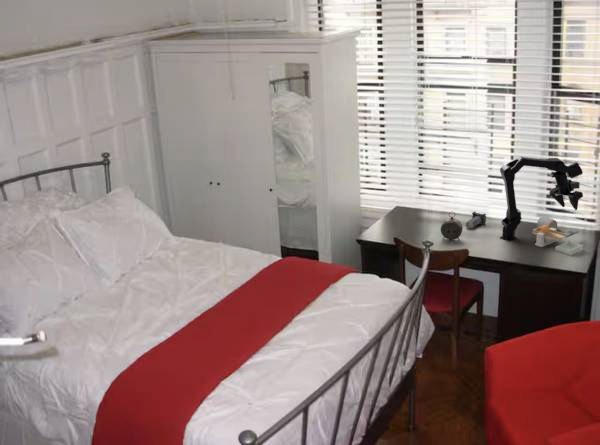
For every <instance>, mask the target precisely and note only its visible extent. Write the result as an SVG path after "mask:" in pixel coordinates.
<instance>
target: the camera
mask: <svg viewBox="0 0 600 445" xmlns="http://www.w3.org/2000/svg"><path fill="white" fill-rule="evenodd" d="M471 214H472V216H471V219H469V220H468V221H466V223H465V227H466V229H468V230H472V229H473V228H475V227H477V226H478V225H483V226H485V225H486V222H487V214H486V213H479V212H476V211H473V212H471Z"/></svg>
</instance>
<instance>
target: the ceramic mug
mask: <svg viewBox="0 0 600 445" xmlns="http://www.w3.org/2000/svg"><path fill="white" fill-rule="evenodd" d="M543 225H547V226H548V227H549V228H554V229H556V230H558V228H559V226H558V222H557V221H556V220H555V219H553V218H550V217H549V216H545V215H541V216H540V217H539V218H538V219H537V223H536V228H538V227H542V226H543Z"/></svg>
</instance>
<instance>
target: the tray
mask: <svg viewBox="0 0 600 445" xmlns="http://www.w3.org/2000/svg"><path fill="white" fill-rule="evenodd" d="M554 251H556V252H558V253H561V254H564V255H567V256H571V257H572V256H573V255H577V254H578V253H580V252H583V251H584V244H580V243H577V242H572V241H569V240H567V241H566V242H563V243H561V244H559V245H556V246H555V248H554Z"/></svg>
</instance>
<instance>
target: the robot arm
mask: <svg viewBox="0 0 600 445" xmlns="http://www.w3.org/2000/svg"><path fill="white" fill-rule="evenodd" d="M525 166H526V167H535V168H544V169H548V170H550V171H551V173H550V174H549V177H551V178H552V179H555V183H556V184H554V185H555V186H554V188H552V189H550V190H549V192H548V193H549V197H551V198H553V199H554V200H555V201H556V202H557V203H558V204H559V205H560V206H561V207H563V208H565V206H566V204H565V200H564V196H566V197H567V198H568V201H569V204H571V206H572V208H573V209H574V210H575V211H577V210H578V205H579V200H580V199H581V198H583V197H584V194H583V192H581V191H578V190H575V189H580V185H581V184H580V181H576V180H575V181H574V180H572V179H573V178H577V177H580V176H581V175H583V173H584V172H583V169H582V168H581V166H580V164H579V163H578V162H574V163H572V164H570V165H566V163H565V162H564V161H563V160H562V159H560V158H558V157H550V158H545V159H543V158H536V157H534V158H532V157H526V156H518V157H517V158H515V159H513V160H510V161H509V162H507V163H506V164H503V165H502V166H501V167H500V169H499V172H500V175H501V178H502V180H503V182H504V188H505V197H506V204H507V209H506V213H505V217H504V218H503V219H501V225H502V226H503V227H502V236H500V237H499V238H500V239H502V240H505V241H508V242H511V241H513V240H516V239H518V237H517V236H516V230H517V228H518V225H520V224H521V222H522V220H523V218H522V211H521V210H519V209H518V208H517V202H516V194H515V186H514V185H515V184H514V182H515V180H516V179H515V178H516V174H517V173H518V172H520V170H521V169H522V168H523V167H525ZM574 190H575V191H574Z"/></svg>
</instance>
